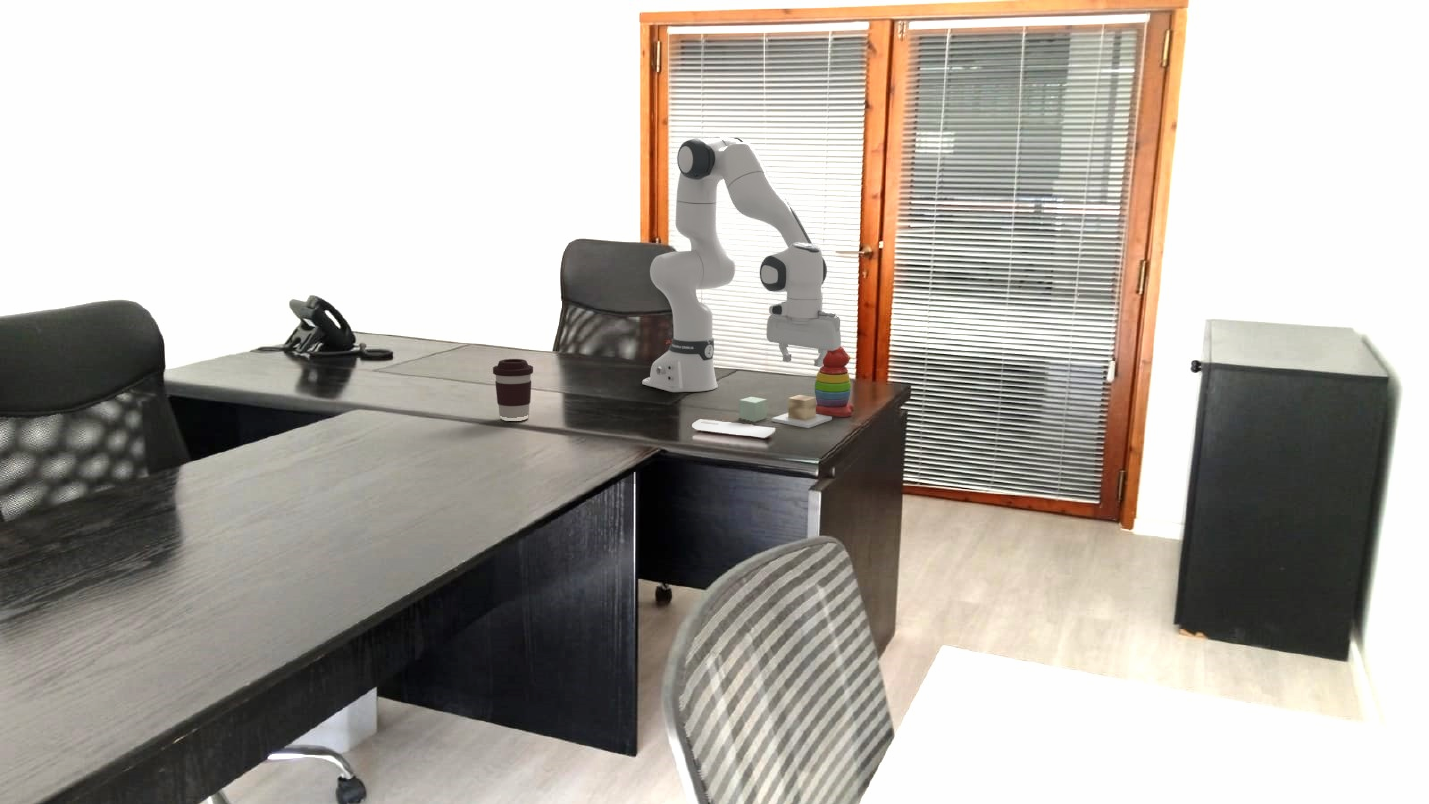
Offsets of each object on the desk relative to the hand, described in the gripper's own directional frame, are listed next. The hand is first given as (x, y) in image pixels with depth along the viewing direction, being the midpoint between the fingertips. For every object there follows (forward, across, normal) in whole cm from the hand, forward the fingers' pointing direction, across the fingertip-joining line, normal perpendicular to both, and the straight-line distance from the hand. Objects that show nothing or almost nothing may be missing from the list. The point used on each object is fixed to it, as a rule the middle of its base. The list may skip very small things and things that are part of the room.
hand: (802, 363), depth 277 cm
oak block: (+14, 0, 0) cm, 14 cm away
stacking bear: (+15, -2, -13) cm, 20 cm away
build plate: (+15, 0, 0) cm, 15 cm away
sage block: (+15, +11, +6) cm, 19 cm away
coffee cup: (+15, +57, +45) cm, 74 cm away
